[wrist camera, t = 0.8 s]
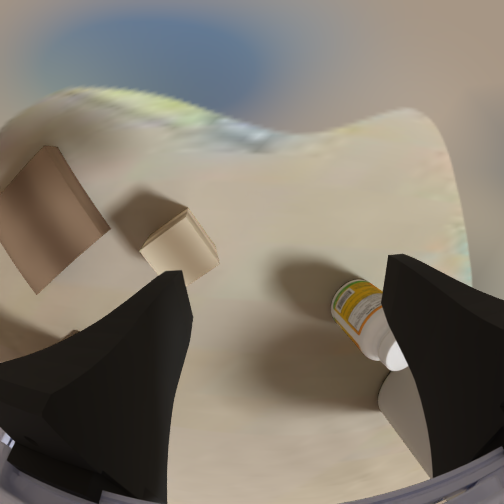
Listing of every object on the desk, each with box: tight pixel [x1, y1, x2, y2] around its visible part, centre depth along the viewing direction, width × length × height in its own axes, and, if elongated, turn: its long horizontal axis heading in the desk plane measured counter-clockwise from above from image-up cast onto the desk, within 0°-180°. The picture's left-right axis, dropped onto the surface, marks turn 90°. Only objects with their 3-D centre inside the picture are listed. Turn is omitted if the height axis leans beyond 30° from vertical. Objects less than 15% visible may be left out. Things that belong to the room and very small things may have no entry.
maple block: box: [140, 208, 220, 287], centre depth 22 cm, size 4×4×5 cm
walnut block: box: [0, 146, 111, 295], centre depth 21 cm, size 9×9×3 cm
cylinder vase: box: [378, 366, 466, 501], centre depth 24 cm, size 12×12×25 cm
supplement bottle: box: [331, 279, 408, 371], centre depth 25 cm, size 5×5×10 cm
